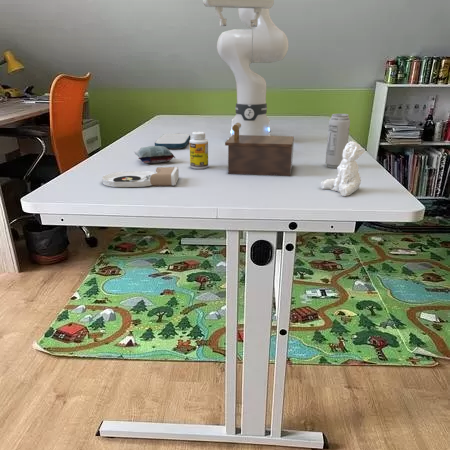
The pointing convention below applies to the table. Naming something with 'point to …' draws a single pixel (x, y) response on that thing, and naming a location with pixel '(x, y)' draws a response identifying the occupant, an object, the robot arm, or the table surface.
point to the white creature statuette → (346, 171)
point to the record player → (143, 178)
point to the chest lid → (258, 139)
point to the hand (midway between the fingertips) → (238, 26)
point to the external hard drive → (173, 140)
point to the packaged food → (154, 154)
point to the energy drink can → (337, 139)
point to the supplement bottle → (198, 151)
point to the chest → (260, 160)
